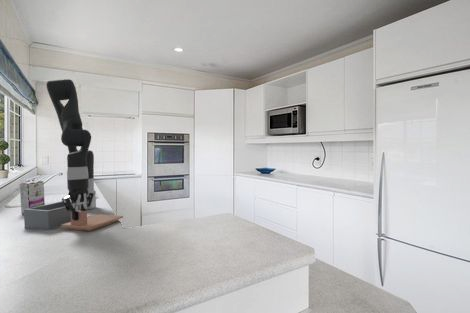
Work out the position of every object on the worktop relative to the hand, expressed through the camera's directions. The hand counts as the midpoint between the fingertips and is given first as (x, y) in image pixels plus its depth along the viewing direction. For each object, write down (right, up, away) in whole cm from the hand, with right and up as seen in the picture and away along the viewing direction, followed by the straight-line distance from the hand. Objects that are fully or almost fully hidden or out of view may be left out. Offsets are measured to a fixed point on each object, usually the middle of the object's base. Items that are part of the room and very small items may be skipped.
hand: (79, 218), depth 109 cm
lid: (+2, -4, +7) cm, 9 cm away
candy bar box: (-47, -5, +36) cm, 60 cm away
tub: (-17, -5, +11) cm, 21 cm away
